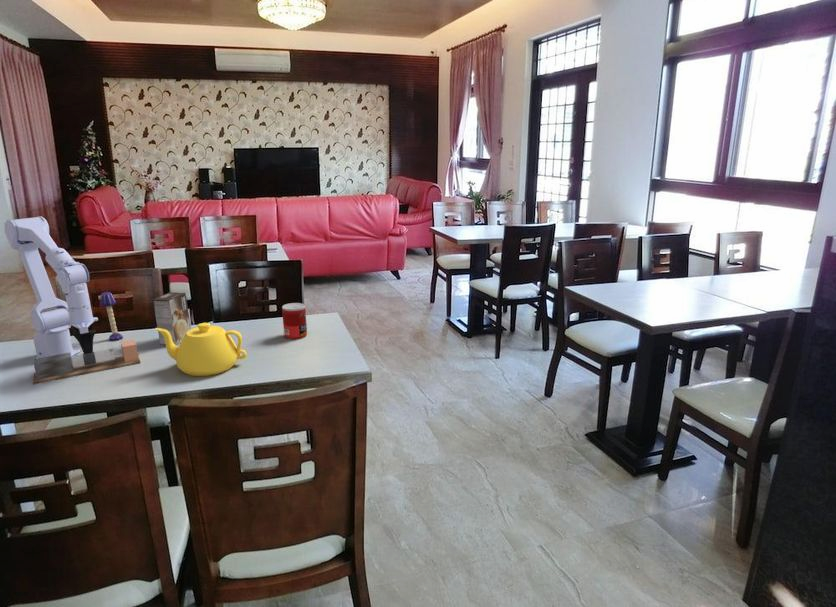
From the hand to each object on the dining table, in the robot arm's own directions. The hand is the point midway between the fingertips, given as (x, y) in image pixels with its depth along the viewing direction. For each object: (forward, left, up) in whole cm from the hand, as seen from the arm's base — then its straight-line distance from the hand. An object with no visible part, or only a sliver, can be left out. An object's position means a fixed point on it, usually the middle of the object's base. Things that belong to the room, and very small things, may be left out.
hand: (87, 349), depth 163 cm
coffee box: (+14, +25, -6) cm, 29 cm away
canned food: (+54, +32, -6) cm, 63 cm away
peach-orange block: (+9, +7, -6) cm, 12 cm away
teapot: (+34, +4, -7) cm, 35 cm away
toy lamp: (-8, +25, -6) cm, 27 cm away
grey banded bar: (-3, -2, -4) cm, 5 cm away
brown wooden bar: (-1, 0, -6) cm, 6 cm away
